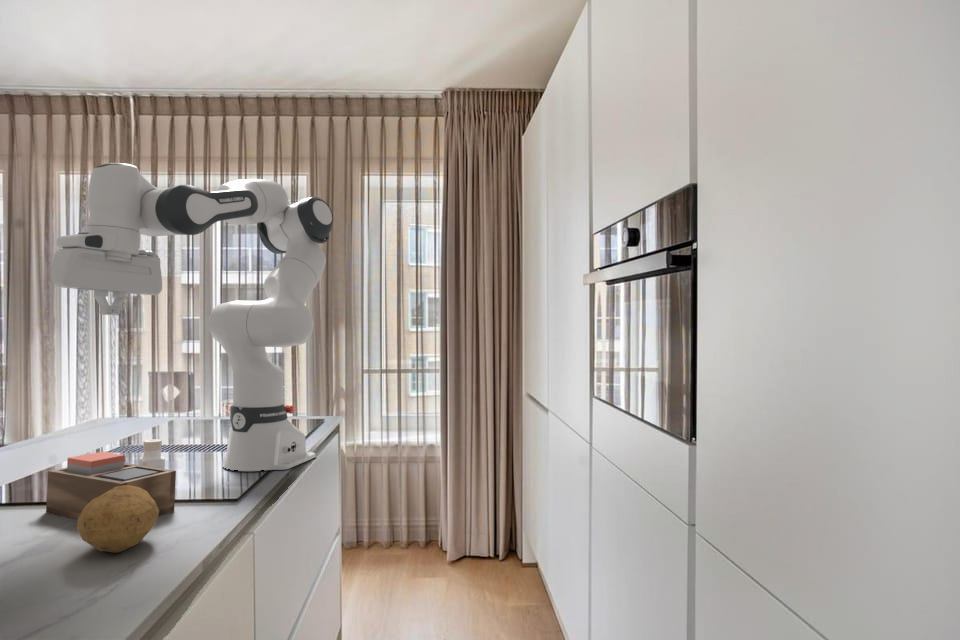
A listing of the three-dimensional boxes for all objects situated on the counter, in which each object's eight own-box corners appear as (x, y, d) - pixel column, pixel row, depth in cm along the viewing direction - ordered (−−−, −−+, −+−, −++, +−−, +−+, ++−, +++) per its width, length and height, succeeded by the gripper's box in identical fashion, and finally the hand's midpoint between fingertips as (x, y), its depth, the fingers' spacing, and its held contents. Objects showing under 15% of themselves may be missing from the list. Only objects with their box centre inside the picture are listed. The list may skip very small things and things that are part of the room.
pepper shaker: (136, 488, 113) (138, 440, 113) (159, 485, 116) (161, 438, 116) (141, 492, 110) (143, 443, 110) (164, 489, 113) (166, 441, 113)
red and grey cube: (100, 484, 104) (101, 451, 104) (123, 489, 102) (124, 455, 102) (65, 492, 98) (67, 457, 99) (89, 497, 96) (90, 461, 96)
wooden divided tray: (104, 497, 106) (105, 459, 107) (174, 511, 100) (175, 470, 100) (46, 512, 97) (48, 470, 97) (119, 528, 90) (121, 483, 91)
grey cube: (132, 502, 101) (134, 467, 101) (156, 506, 98) (158, 471, 99) (98, 511, 95) (100, 475, 95) (123, 516, 93) (125, 479, 93)
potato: (61, 572, 74) (64, 509, 74) (90, 535, 87) (92, 482, 87) (147, 563, 77) (150, 503, 78) (163, 529, 90) (165, 478, 91)
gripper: (149, 252, 123) (146, 317, 123) (47, 236, 104) (43, 312, 104) (170, 252, 121) (168, 317, 120) (70, 235, 102) (66, 312, 101)
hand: (109, 315), depth 112 cm, fingers closed
